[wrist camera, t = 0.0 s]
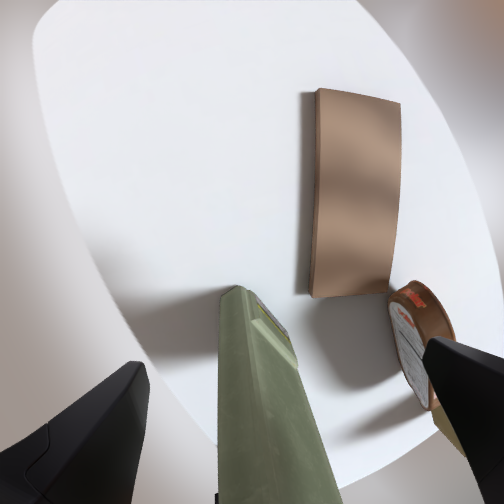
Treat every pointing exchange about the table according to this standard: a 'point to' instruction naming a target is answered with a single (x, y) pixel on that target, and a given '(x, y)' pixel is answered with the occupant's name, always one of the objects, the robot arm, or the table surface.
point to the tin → (417, 334)
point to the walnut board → (354, 193)
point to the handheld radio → (265, 413)
